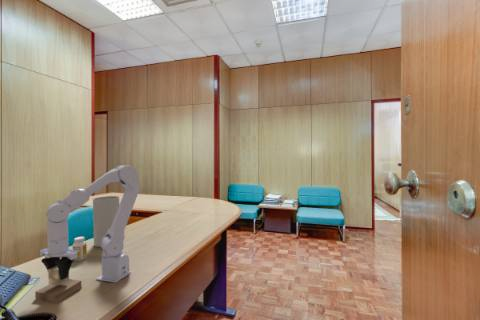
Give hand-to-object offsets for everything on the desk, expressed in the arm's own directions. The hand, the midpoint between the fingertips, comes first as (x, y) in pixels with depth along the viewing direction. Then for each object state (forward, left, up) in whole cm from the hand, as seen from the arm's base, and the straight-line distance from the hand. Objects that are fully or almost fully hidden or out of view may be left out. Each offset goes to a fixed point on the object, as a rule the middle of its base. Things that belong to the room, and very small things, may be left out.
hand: (59, 277), depth 81 cm
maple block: (0, 0, -1) cm, 1 cm away
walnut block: (0, 0, -6) cm, 6 cm away
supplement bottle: (+19, -24, -6) cm, 31 cm away
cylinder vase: (+22, -43, -6) cm, 49 cm away
